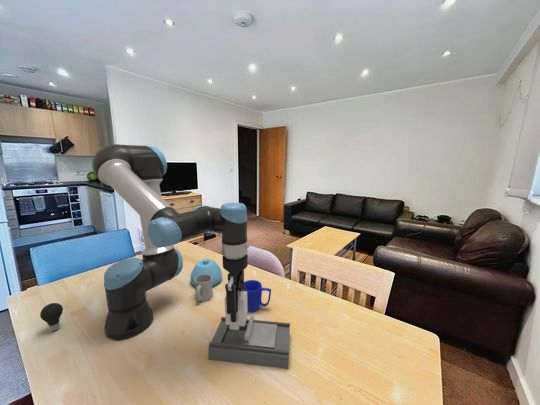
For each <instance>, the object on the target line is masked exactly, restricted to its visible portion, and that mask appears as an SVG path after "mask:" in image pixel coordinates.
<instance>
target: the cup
mask: <svg viewBox="0 0 540 405" xmlns="http://www.w3.org/2000/svg"><path fill="white" fill-rule="evenodd" d="M194 290H195V293H194V294H195V299H196V300H197V301H198V302H202V303H203V302H208V301H209V300H211V299H212V297H213V295H214V294H213V287H212V276H211V275H208V274H202V275H199V276H197V277H196V278H195V286H194Z"/></svg>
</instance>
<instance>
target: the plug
mask: <svg viewBox="0 0 540 405" xmlns="http://www.w3.org/2000/svg"><path fill="white" fill-rule="evenodd" d="M226 310H227V301H226V296H225V297H224V317H225V321H226V325H229V329H230V314H227V312H226ZM238 310H239V326H242V327H244V326H245V323H246V320H247V319H248V316H249V315H248V312H249V311H248V309H247V291H239V290H238Z"/></svg>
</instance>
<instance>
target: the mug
mask: <svg viewBox="0 0 540 405" xmlns="http://www.w3.org/2000/svg"><path fill="white" fill-rule="evenodd" d="M244 291H247V309H248V312H255V311H258V310H259V308H260V307H261V306H262V307H267V306H268V305H269V304H270V301H271V295H272V289H271V288H268V287H263V285H262V283H261V281H259V280H256V279H249V280H244ZM263 291H264V292H268V299H267V301H266V303H263V302H262V294H263Z"/></svg>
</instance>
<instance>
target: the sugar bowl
mask: <svg viewBox="0 0 540 405" xmlns="http://www.w3.org/2000/svg"><path fill="white" fill-rule="evenodd" d="M202 274H208V275H211V276H212V288H213V287H214V286H216V285H218V284H219V283H220V282H221V280H222V279H223V272H222V270H221V267H220V266H219V264H218V263H217V262H216V261H215V260H213V259H210V258H204V259H201V260H199V261H198V262H196V264H195V265H194V267H193V269H192V271H191V274H190V282H191V284H192V285H193V286H194V287H195V278H196V277H197V276H199V275H202Z"/></svg>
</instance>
